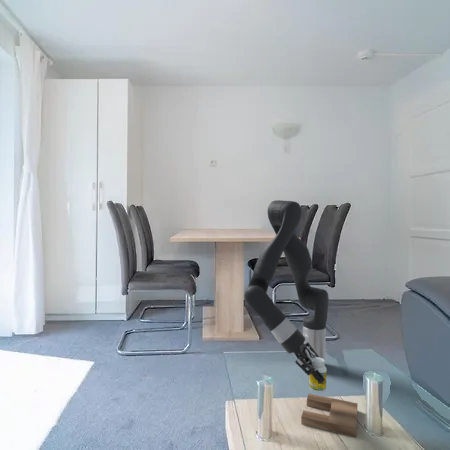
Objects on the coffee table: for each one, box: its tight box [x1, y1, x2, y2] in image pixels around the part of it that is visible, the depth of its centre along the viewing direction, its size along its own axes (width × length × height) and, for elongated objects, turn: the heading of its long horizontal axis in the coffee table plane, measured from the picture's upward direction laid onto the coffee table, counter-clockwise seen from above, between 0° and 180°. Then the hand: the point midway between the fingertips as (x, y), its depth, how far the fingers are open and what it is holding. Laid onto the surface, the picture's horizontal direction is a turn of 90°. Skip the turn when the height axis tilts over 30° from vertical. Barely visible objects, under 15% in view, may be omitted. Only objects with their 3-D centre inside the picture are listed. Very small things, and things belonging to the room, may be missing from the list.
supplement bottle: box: [308, 357, 328, 393], centre depth 115 cm, size 5×5×10 cm
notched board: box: [300, 393, 359, 438], centre depth 115 cm, size 14×16×2 cm
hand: (323, 377), depth 114 cm, fingers closed on supplement bottle, 5 cm apart
